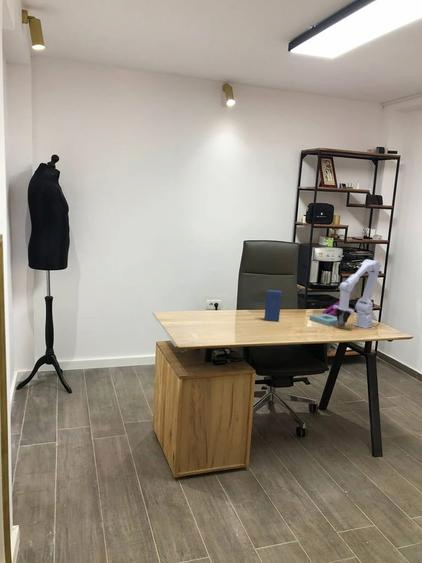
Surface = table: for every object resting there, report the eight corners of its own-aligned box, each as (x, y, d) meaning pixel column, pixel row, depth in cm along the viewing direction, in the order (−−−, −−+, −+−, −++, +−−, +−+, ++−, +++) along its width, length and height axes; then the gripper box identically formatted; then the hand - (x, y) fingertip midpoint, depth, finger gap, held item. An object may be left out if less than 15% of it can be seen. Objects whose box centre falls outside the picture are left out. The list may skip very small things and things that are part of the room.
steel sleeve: (346, 325, 296) (347, 315, 295) (342, 326, 294) (343, 315, 293) (340, 324, 300) (342, 313, 299) (336, 324, 297) (337, 314, 296)
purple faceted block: (331, 326, 323) (350, 314, 330) (328, 316, 320) (347, 304, 326) (322, 323, 331) (340, 311, 338) (319, 313, 328) (338, 301, 335)
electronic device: (278, 320, 307) (281, 290, 304) (278, 321, 302) (281, 291, 299) (264, 318, 308) (266, 289, 304) (264, 320, 303) (267, 290, 299)
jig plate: (343, 323, 310) (344, 319, 309) (328, 326, 300) (328, 321, 300) (324, 317, 322) (325, 313, 322) (309, 320, 313) (310, 315, 312)
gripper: (331, 299, 297) (328, 319, 300) (350, 304, 286) (347, 325, 288) (338, 298, 302) (335, 318, 304) (356, 303, 290) (354, 324, 293)
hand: (341, 321), depth 296 cm, fingers closed on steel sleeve, 4 cm apart
